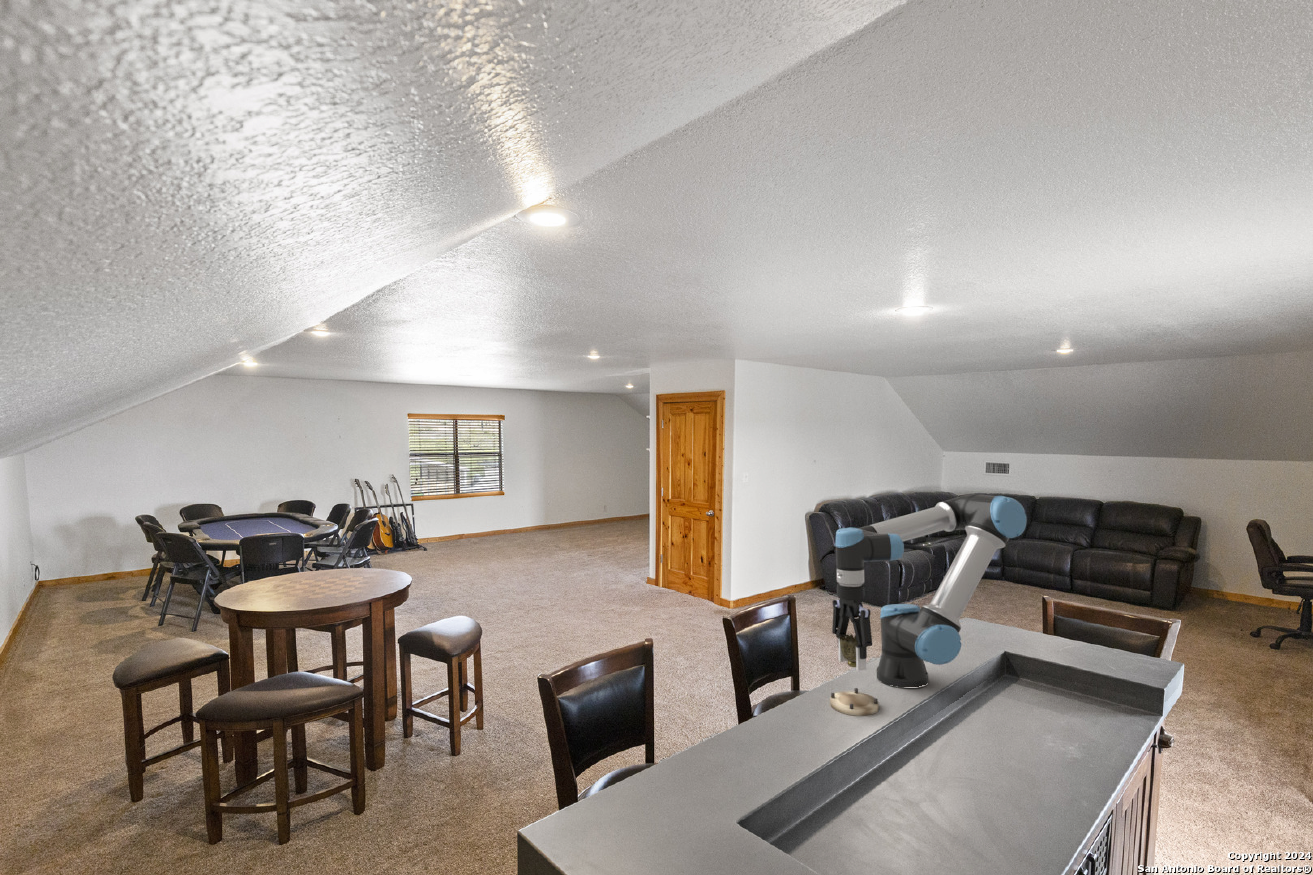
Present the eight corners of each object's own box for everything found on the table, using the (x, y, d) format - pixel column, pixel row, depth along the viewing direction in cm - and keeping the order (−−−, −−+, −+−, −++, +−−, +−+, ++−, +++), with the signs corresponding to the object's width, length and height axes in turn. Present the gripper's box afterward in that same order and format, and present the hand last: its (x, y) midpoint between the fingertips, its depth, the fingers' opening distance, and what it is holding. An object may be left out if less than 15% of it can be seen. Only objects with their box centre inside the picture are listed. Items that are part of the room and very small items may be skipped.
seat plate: (857, 693, 185) (857, 684, 185) (888, 710, 173) (888, 700, 173) (820, 701, 181) (820, 691, 181) (850, 718, 168) (849, 708, 169)
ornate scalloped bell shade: (871, 669, 173) (869, 640, 173) (844, 670, 173) (843, 641, 174) (863, 661, 180) (861, 633, 181) (837, 662, 181) (836, 634, 181)
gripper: (818, 578, 185) (819, 656, 185) (863, 592, 167) (865, 679, 166) (839, 575, 188) (840, 652, 188) (885, 589, 169) (887, 674, 169)
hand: (852, 665), depth 177 cm, fingers closed on ornate scalloped bell shade, 7 cm apart
